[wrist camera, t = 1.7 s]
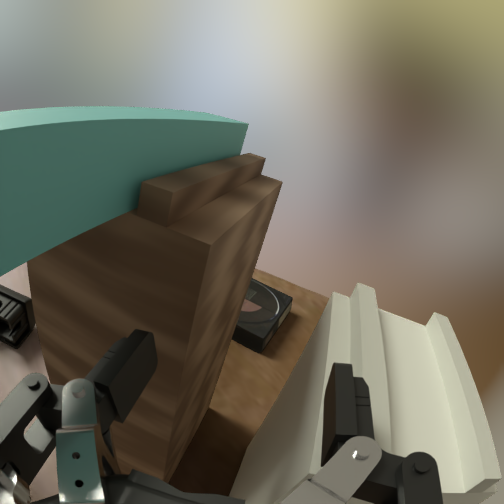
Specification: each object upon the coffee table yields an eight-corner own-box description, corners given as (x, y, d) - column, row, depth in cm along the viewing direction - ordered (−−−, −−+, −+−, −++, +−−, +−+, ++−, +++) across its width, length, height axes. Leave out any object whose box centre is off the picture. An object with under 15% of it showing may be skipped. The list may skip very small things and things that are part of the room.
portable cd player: (259, 356, 53) (266, 340, 51) (180, 312, 58) (183, 295, 56) (289, 313, 67) (295, 298, 65) (221, 280, 72) (225, 265, 70)
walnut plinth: (160, 497, 25) (220, 208, 11) (73, 446, 27) (26, 145, 13) (208, 407, 40) (287, 165, 26) (134, 371, 41) (166, 129, 27)
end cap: (40, 324, 42) (35, 291, 39) (19, 351, 35) (10, 318, 32) (0, 305, 41) (-6, 273, 38) (-22, 328, 34) (-31, 295, 32)
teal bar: (-60, 314, 4) (-87, 150, 3) (-94, 255, 5) (-106, 134, 3) (236, 168, 26) (248, 123, 24) (194, 155, 26) (205, 112, 25)
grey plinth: (308, 571, 19) (516, 477, 8) (206, 547, 21) (325, 458, 9) (329, 471, 34) (459, 322, 22) (247, 447, 35) (340, 275, 24)
